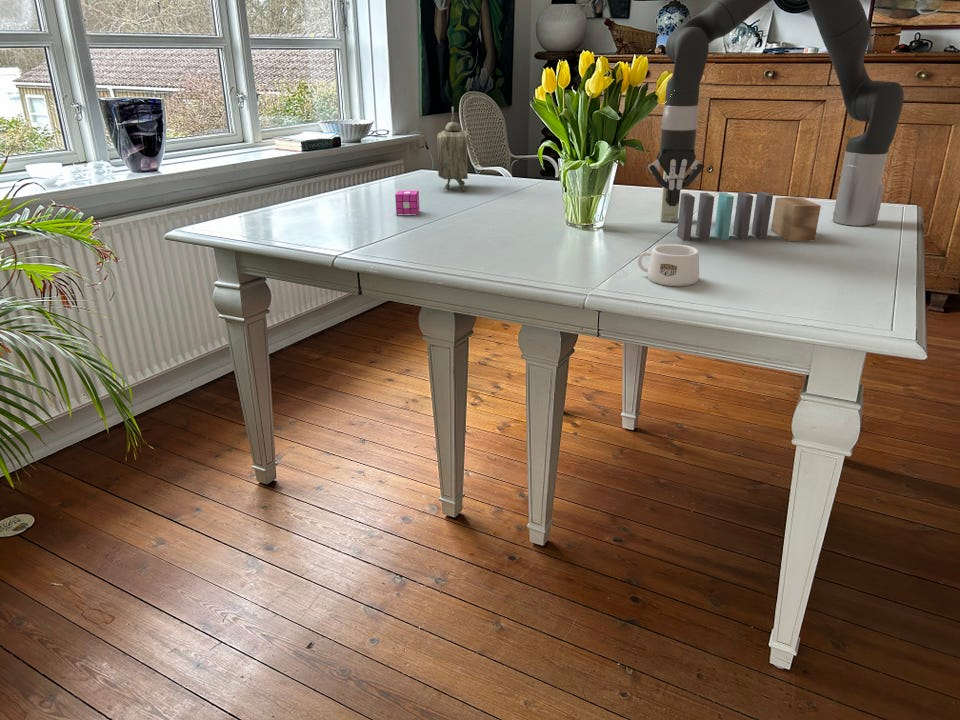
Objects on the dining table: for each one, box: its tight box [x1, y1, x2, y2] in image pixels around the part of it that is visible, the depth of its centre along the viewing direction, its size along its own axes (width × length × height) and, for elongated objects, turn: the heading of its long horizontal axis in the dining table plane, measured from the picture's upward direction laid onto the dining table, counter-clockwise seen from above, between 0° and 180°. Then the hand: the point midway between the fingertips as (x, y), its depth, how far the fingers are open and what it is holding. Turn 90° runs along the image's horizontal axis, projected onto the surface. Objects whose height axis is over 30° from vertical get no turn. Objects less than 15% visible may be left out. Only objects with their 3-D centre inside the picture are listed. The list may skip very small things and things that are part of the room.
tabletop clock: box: [436, 106, 469, 192], centre depth 223 cm, size 14×9×25 cm, turn 1°
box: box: [659, 170, 680, 223], centre depth 182 cm, size 5×4×13 cm
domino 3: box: [713, 191, 735, 241], centre depth 166 cm, size 2×5×10 cm, turn 3°
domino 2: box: [695, 192, 715, 241], centre depth 165 cm, size 2×5×10 cm, turn 3°
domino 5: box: [750, 191, 774, 240], centre depth 166 cm, size 2×5×10 cm, turn 3°
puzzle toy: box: [394, 190, 421, 215], centre depth 195 cm, size 6×6×6 cm
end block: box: [770, 196, 822, 242], centre depth 167 cm, size 6×10×8 cm, turn 3°
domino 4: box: [732, 191, 754, 240], centre depth 166 cm, size 2×5×10 cm, turn 3°
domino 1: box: [676, 192, 696, 242], centre depth 165 cm, size 2×5×10 cm, turn 3°
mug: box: [637, 243, 700, 287], centre depth 137 cm, size 12×10×6 cm
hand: (672, 205), depth 164 cm, fingers closed
